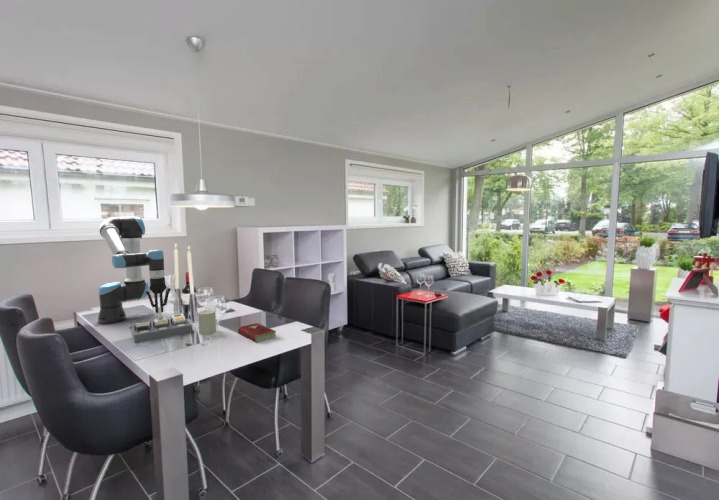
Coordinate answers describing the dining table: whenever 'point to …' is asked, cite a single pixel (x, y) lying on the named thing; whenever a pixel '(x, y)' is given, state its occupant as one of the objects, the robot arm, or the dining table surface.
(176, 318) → the rocker
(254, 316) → the dining table surface
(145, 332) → the rocker switch panel
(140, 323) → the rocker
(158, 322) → the rocker middle
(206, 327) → the can
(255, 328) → the hardcover book
